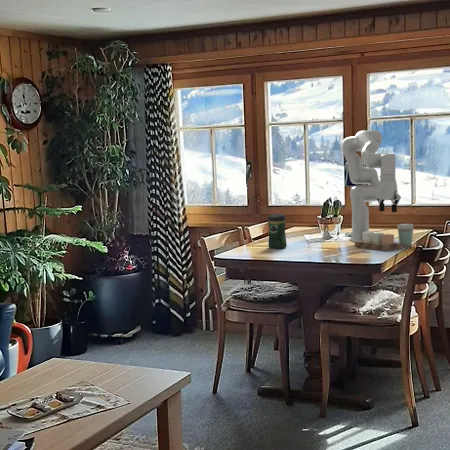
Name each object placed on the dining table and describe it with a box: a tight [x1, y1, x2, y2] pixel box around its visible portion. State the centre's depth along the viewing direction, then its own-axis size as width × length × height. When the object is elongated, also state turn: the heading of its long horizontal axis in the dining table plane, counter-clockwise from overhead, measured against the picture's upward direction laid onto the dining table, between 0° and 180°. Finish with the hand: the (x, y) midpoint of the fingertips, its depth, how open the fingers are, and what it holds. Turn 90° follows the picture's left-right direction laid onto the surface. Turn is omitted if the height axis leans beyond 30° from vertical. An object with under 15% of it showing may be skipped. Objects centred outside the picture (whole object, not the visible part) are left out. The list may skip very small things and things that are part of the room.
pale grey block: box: [362, 230, 375, 242], centre depth 362 cm, size 4×4×5 cm
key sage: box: [372, 232, 385, 243], centre depth 356 cm, size 4×4×5 cm
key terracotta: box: [382, 233, 395, 245], centre depth 350 cm, size 4×4×5 cm
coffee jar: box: [267, 213, 287, 250], centre depth 366 cm, size 10×8×19 cm
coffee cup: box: [396, 223, 414, 249], centre depth 357 cm, size 8×8×12 cm
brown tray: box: [354, 240, 403, 252], centre depth 356 cm, size 22×12×3 cm, turn 33°
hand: (388, 211), depth 348 cm, fingers open, 7 cm apart
